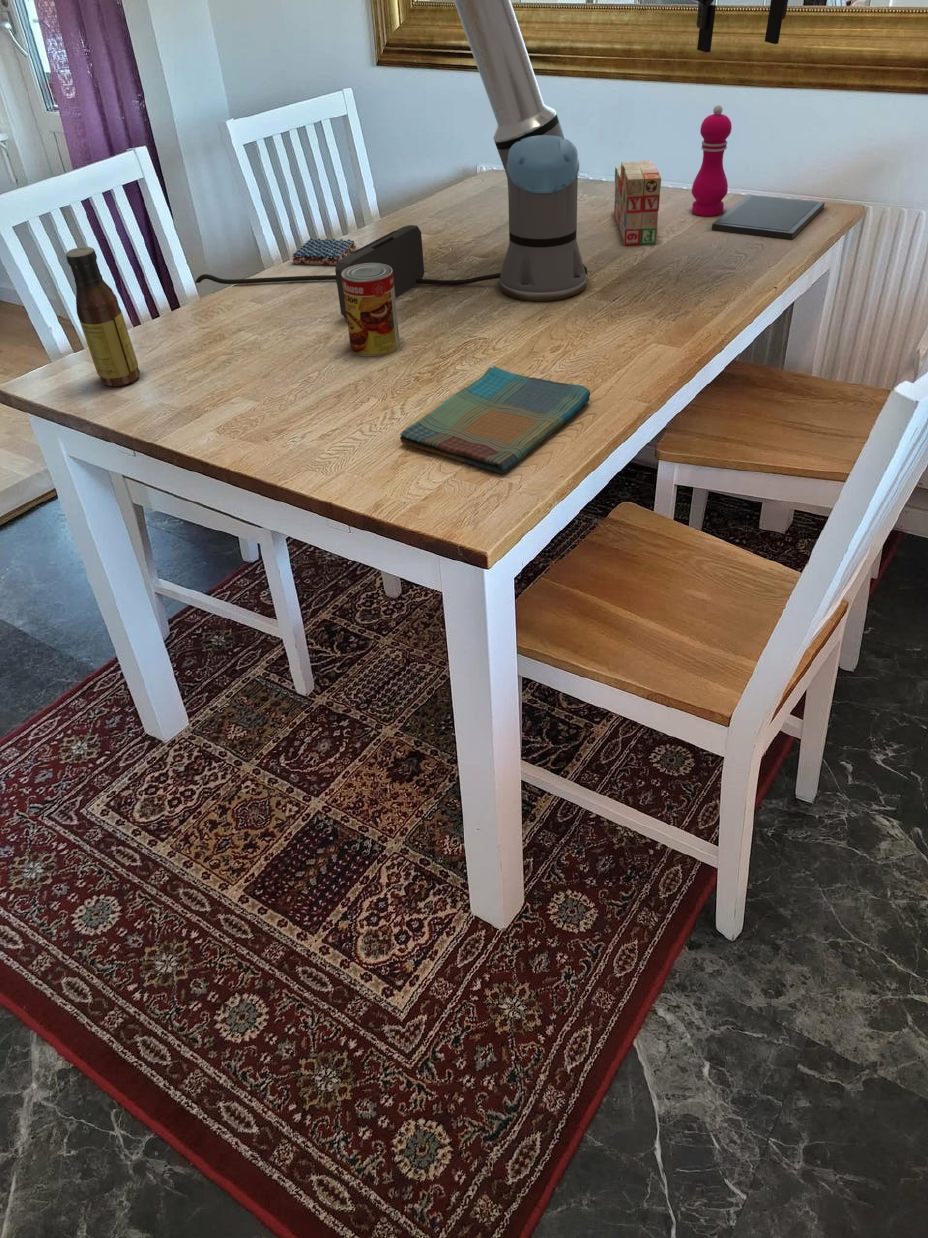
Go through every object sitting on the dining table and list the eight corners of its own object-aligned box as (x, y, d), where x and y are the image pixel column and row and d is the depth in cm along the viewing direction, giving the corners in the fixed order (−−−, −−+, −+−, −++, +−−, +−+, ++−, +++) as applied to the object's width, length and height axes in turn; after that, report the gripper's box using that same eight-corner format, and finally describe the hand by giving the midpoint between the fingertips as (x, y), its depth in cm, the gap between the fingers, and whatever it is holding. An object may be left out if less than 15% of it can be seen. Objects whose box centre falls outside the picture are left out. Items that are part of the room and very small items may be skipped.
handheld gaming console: (413, 277, 180) (408, 221, 174) (425, 279, 179) (421, 223, 173) (339, 321, 165) (331, 261, 159) (352, 323, 164) (345, 263, 158)
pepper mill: (687, 216, 201) (697, 108, 188) (691, 206, 206) (701, 101, 194) (723, 217, 199) (735, 109, 186) (726, 207, 204) (738, 101, 192)
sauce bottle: (125, 367, 154) (89, 239, 142) (149, 377, 151) (114, 246, 138) (90, 383, 150) (49, 252, 138) (114, 392, 147) (74, 260, 135)
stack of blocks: (613, 212, 205) (615, 149, 197) (643, 211, 205) (647, 148, 197) (624, 245, 188) (627, 178, 181) (656, 244, 188) (661, 176, 180)
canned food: (345, 342, 158) (335, 267, 150) (391, 333, 160) (383, 259, 152) (358, 360, 152) (348, 283, 144) (406, 350, 154) (399, 274, 146)
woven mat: (290, 265, 189) (288, 254, 188) (309, 247, 197) (308, 237, 196) (340, 266, 187) (339, 256, 185) (358, 248, 195) (357, 238, 193)
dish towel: (594, 403, 136) (595, 386, 135) (506, 477, 121) (505, 459, 120) (491, 378, 144) (491, 362, 143) (396, 445, 129) (395, 428, 128)
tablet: (791, 239, 186) (792, 232, 185) (711, 229, 193) (712, 223, 192) (823, 208, 200) (825, 201, 200) (748, 199, 207) (748, 193, 207)
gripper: (705, -107, 142) (687, 58, 156) (841, -116, 149) (813, 42, 163) (676, -110, 147) (661, 50, 161) (809, -119, 155) (784, 35, 168)
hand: (737, 46), depth 162 cm, fingers open, 13 cm apart
